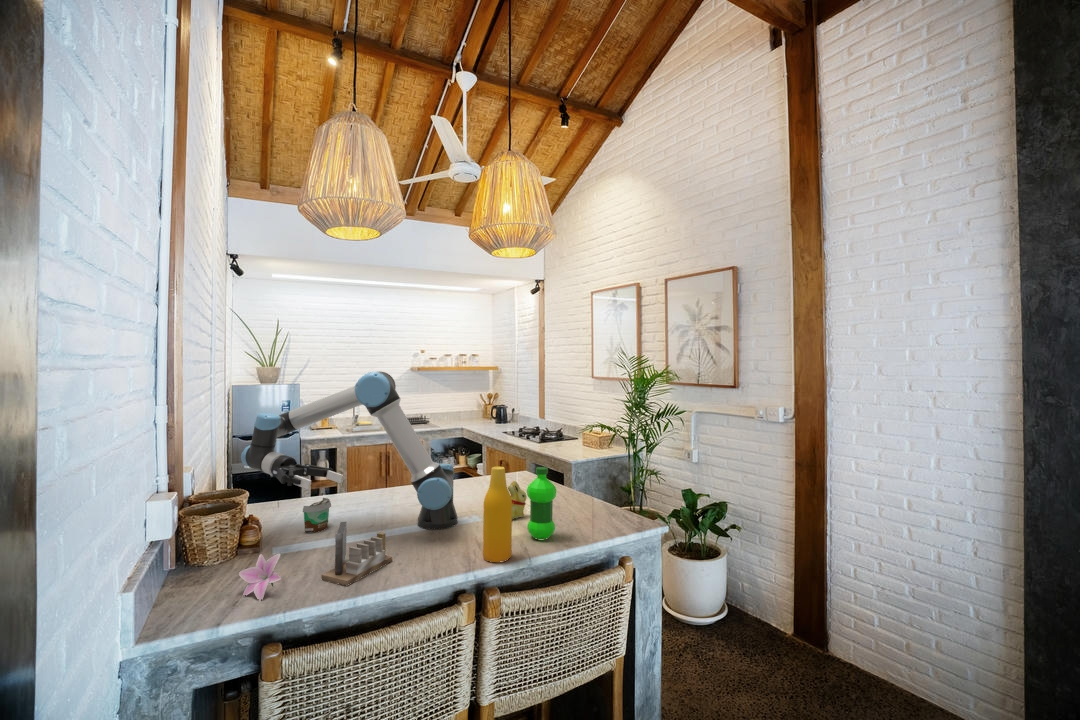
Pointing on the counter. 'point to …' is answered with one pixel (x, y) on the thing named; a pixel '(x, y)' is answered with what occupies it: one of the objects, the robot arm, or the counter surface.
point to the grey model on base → (357, 559)
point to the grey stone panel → (343, 530)
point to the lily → (260, 576)
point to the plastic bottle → (541, 505)
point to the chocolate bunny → (517, 500)
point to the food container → (316, 516)
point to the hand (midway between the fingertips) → (326, 482)
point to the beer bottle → (497, 518)
